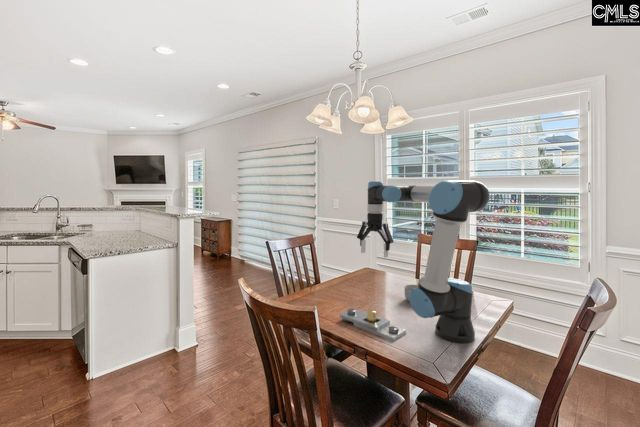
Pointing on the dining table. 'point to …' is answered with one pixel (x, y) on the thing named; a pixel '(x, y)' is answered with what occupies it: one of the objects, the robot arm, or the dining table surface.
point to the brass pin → (371, 316)
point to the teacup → (409, 290)
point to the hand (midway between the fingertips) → (374, 254)
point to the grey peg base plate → (378, 328)
